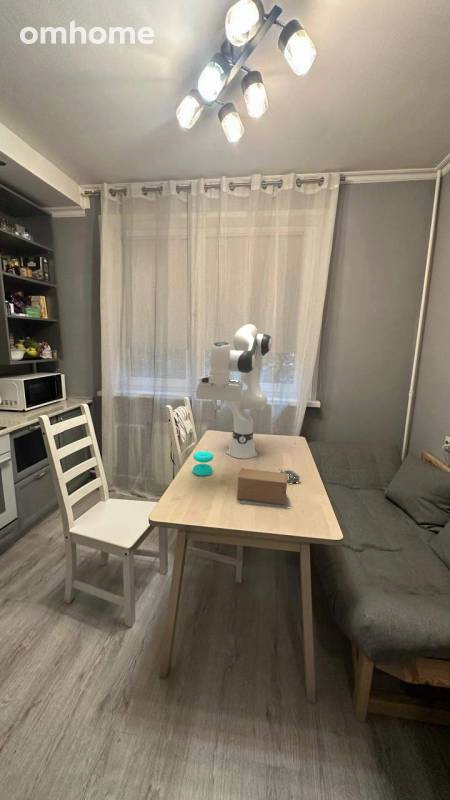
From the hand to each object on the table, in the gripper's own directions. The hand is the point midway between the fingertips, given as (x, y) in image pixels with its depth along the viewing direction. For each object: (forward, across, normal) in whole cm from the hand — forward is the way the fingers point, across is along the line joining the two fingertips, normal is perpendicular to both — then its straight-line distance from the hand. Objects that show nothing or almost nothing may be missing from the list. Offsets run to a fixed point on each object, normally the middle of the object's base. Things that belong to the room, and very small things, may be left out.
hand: (217, 409), depth 139 cm
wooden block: (+30, -11, +10) cm, 33 cm away
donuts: (+35, +7, -10) cm, 37 cm away
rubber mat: (+35, -23, +11) cm, 43 cm away
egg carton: (+36, -36, -10) cm, 52 cm away
